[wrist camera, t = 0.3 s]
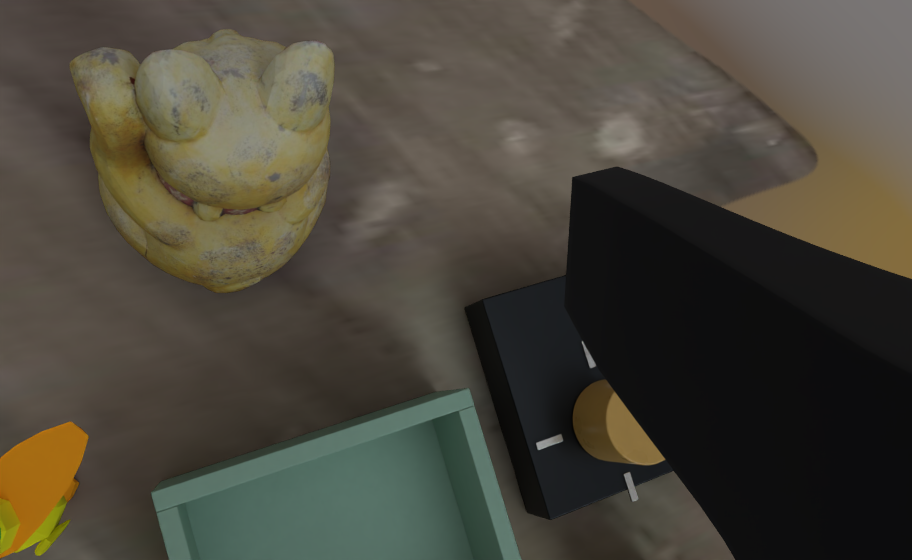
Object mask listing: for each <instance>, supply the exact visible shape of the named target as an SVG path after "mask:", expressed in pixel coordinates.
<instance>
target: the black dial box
mask: <svg viewBox="0 0 912 560" xmlns="http://www.w3.org/2000/svg"><path fill="white" fill-rule="evenodd" d="M565 286H566V275H564V276H561V277H557V278H554V279H551V280H547V281H544V282H540V283H537V284H533V285H530V286H527V287H523V288H520V289H516V290H513V291H509V292H506V293H503V294H499V295H496V296H492V297H489V298H485V299H482V300H480V301H478V302H475V303H473V304H471V305H469V306H466V307H465V311H466V315H467V318H468V321H469V324H470V328H471V331H472V334H473V337H474V341H475V344H476V347H477V350H478V354H479V357H480V360H481V363H482V367H483V370H484V373H485V376H486V380H487V383H488V386H489V389H490V393H491V396H492V399H493V402H494V406H495V409H496V412H497V415H498V419H499V422H500V425H501V429H502V432H503V435H504V438H505V442H506V445H507V448H508V451H509V455H510V458H511V461H512V464H513V468H514V471H515V474H516V477H517V481H518V484H519V487H520V490H521V494H522V497H523V500H524V503H525V507H526V510H527V513H529V514H533V515H536V516H539V517H542V518H546V519H549V520H552V519H555V518H557V517H560V516H562V515H565V514H567V513H570V512H572V511H575V510H577V509H580V508H582V507H585V506H587V505H590V504H592V503H595V502H597V501H600V500H602V499H605V498H607V497H610V496H612V495H615V494H617V493H619V492H622V491H624V490H628V493H629V496H630V500H631V502H634V501H636V500H638V496H637V493H636V490H635V487H634V486H637V485H639V484H642V483H644V482H647V481H649V480H652V479H654V478H657V477H659V476H662V475H664V474H667V473H669V472H672V471H674V470H673V469H672V468H671V466H670V465H669V464H668V462H667V461H666V460H664V461H662V462H660V463H657V464H654V465H636V464H628V463H619V462H610V461H603V460H600V459H597V458H595V457H593V456H592V455H590V454H589V453H588V452H587V451H586V450H585V449H584V448H583V447H582V446H581V444H580V443H579V441H578V439H577V437H576V434H575V432H574V428H573V410H574V406H575V403H576V401H577V399H578V397H579V395H580V394H581V393H582V391H583V390H584V389H585V388H586V387H588V386H589V385H590V384H592V383H594V382H596V381H599V380H605V378H604V376H603V375H602V373H601V372H600V371H599V369H598V367H597V366H596V364H595V362H594V360H593V359H592V357H591V355H590V353H589V352H588V350H587V348H586V346H585V345H584V343H583V341H582V339H581V337H580V335H579V333H578V332H577V330H576V328H575V326H574V324H573V322H572V320H571V318H570V316H569V314H568V313H567V311H566V309H565V307H564V301H565Z"/></svg>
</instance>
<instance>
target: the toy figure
mask: <svg viewBox="0 0 912 560" xmlns="http://www.w3.org/2000/svg"><path fill="white" fill-rule="evenodd" d="M88 438H89V436H88V435H87V434H86V433H85V432H84V431H83V430H82V429H81V428H80V427H78V426H77V425H75V424H74V423H72V422H71V421H70V422H67V423H65V424H62V425H59V426H56V427H53V428H50V429H47V430H45V431H42V432H40V433H38V434H36V435H34V436H32V437H31V438H29V439H27V440H25V441H23V442H21V443H20V444H18V445H16V446H15V447H13V448H12V449H11V450H10V451H8V452H7V453H6V454H5V455H3V456H2V457H1V458H0V558H2V557H4V556H7V555H9V554H11V553H13V552H14V553H18V552H20V551H22V550H23V549H25V548H27V547H29V546H31V545H33V544H35V543H37V542H39V541H41V542H40V543H39V544H38V545H37V547H36V549H35V554H36V555H38V556H40V555H42V554H43V553H44V552H46V551H47V550H48V548H49V547H50V546H51V545H52V544H53V542H54V541H55V540H56V539H57V538H58V536H59V535H60V534H61V533H62V532H63V531H64V530H65V528H66V527H67V525H68V524H69V522H70V520H71V519H70V520H67V521H65V522H64V523H62V524H60V525H58V524H59V521H60V519H61V516H62V514H63V512H64V509H65V507H66V504H67V502H68V501H69V500H70V499H71V498H72V497H73V495H74V493H75V491H76V489H77V487H78V485H79V482H78V481H76V480H75V479H74V476H75V474H76V472H77V470H78V468H79V466H80V464H81V462H82V459H83V455H84V452H85V448H86V445H87V441H88Z"/></svg>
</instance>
